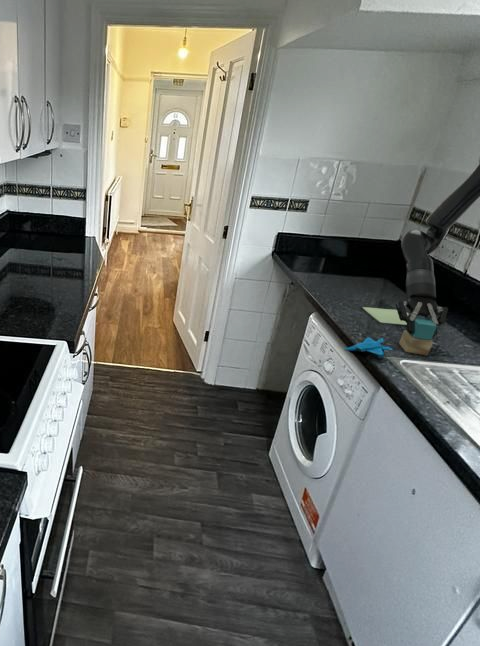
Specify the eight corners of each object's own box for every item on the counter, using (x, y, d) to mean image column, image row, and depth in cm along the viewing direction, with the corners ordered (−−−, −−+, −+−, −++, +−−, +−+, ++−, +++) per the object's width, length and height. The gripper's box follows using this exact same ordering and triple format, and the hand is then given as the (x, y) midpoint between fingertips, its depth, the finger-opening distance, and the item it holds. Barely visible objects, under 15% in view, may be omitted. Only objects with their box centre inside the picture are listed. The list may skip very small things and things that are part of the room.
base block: (419, 346, 135) (425, 333, 133) (427, 355, 130) (433, 341, 128) (398, 343, 136) (404, 329, 134) (405, 352, 131) (411, 338, 129)
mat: (404, 311, 162) (404, 310, 162) (426, 327, 149) (426, 326, 149) (361, 307, 163) (362, 306, 163) (380, 323, 150) (380, 322, 150)
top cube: (424, 333, 133) (430, 319, 130) (430, 340, 128) (437, 326, 126) (406, 330, 134) (411, 316, 132) (412, 337, 129) (418, 323, 127)
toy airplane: (367, 344, 134) (371, 332, 132) (397, 359, 126) (402, 347, 124) (343, 350, 130) (346, 338, 128) (372, 366, 122) (377, 354, 120)
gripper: (401, 278, 133) (402, 327, 127) (453, 284, 129) (456, 335, 124) (390, 287, 140) (390, 334, 134) (439, 294, 136) (441, 342, 130)
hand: (422, 334), depth 129 cm, fingers closed on top cube, 5 cm apart
